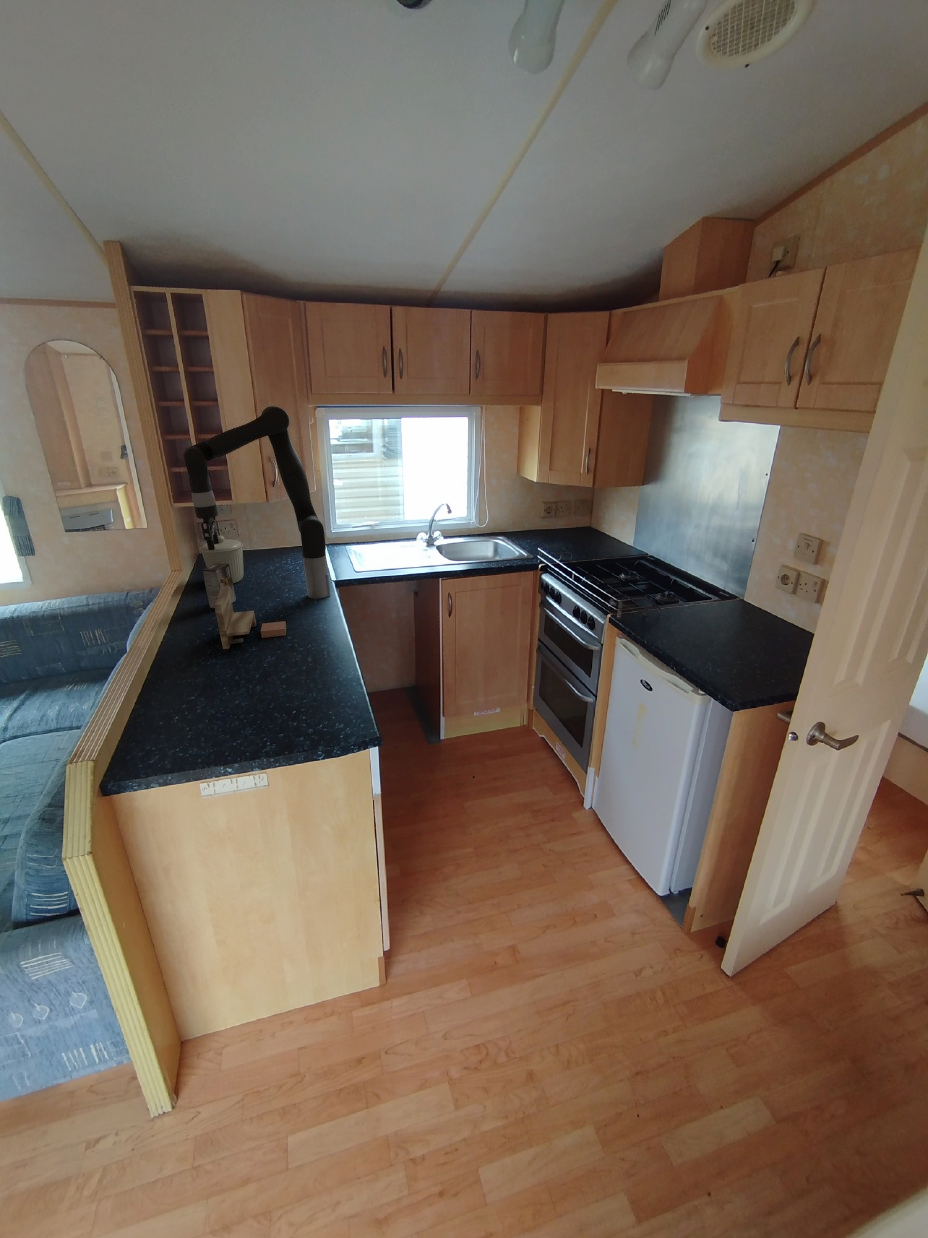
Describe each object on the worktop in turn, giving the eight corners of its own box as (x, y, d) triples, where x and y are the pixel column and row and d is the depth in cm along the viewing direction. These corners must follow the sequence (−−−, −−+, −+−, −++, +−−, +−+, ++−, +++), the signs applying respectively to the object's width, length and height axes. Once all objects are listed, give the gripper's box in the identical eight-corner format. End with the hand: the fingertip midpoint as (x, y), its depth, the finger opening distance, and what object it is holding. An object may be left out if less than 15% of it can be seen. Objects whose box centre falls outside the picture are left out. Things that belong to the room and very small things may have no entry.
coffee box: (222, 599, 231) (215, 562, 225) (236, 600, 230) (229, 563, 224) (209, 607, 223) (201, 569, 216) (223, 608, 222) (216, 570, 215)
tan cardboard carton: (286, 627, 204) (285, 621, 203) (285, 635, 198) (284, 628, 197) (263, 629, 202) (262, 623, 201) (261, 637, 196) (260, 631, 195)
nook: (256, 624, 207) (249, 583, 200) (251, 645, 190) (243, 602, 183) (230, 627, 205) (222, 586, 199) (223, 649, 188) (214, 605, 182)
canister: (256, 580, 253) (249, 535, 245) (217, 590, 241) (208, 543, 233) (237, 572, 264) (229, 528, 256) (199, 581, 252) (190, 536, 244)
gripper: (212, 507, 197) (221, 551, 204) (219, 499, 210) (227, 541, 217) (189, 508, 196) (199, 553, 202) (197, 500, 209) (207, 542, 215)
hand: (214, 546), depth 210 cm, fingers open, 8 cm apart
